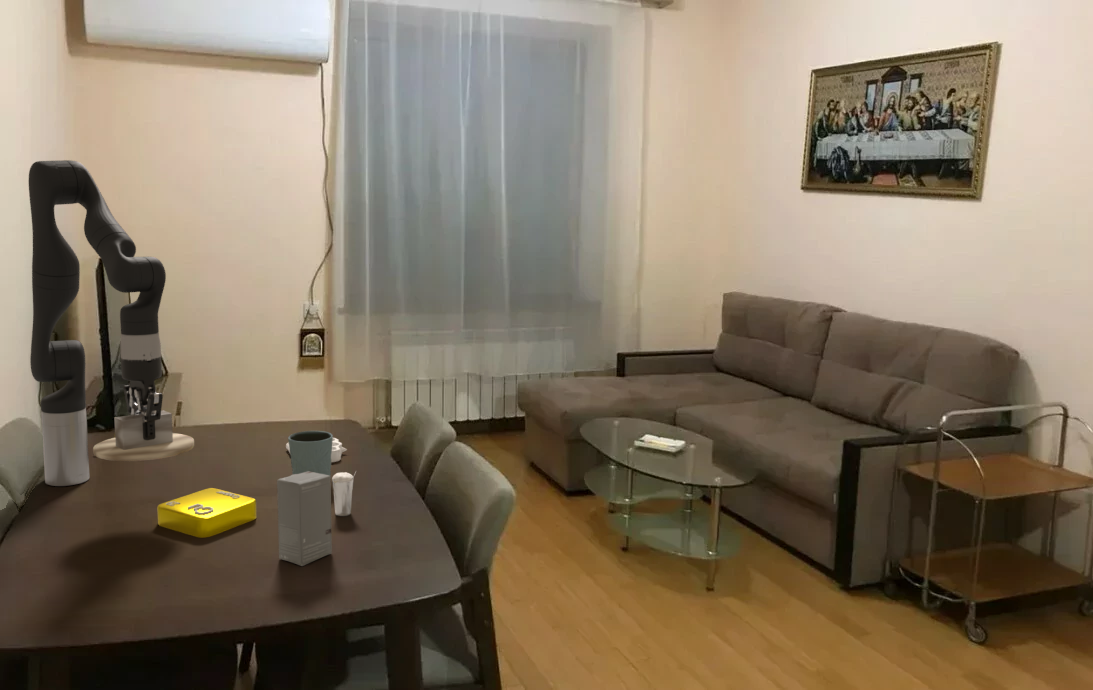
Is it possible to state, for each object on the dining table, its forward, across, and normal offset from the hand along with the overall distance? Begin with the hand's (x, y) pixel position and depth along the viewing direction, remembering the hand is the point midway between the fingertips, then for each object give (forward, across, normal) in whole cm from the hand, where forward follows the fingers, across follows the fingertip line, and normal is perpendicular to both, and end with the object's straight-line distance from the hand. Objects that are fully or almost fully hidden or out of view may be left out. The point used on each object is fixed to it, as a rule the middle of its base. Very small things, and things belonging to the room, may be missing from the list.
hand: (144, 437), depth 186 cm
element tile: (+19, +8, +9) cm, 22 cm away
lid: (+2, 0, 0) cm, 2 cm away
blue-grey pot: (+18, +1, +38) cm, 42 cm away
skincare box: (+19, +38, +14) cm, 44 cm away
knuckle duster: (+18, -20, +54) cm, 60 cm away
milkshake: (+19, +23, +33) cm, 44 cm away
